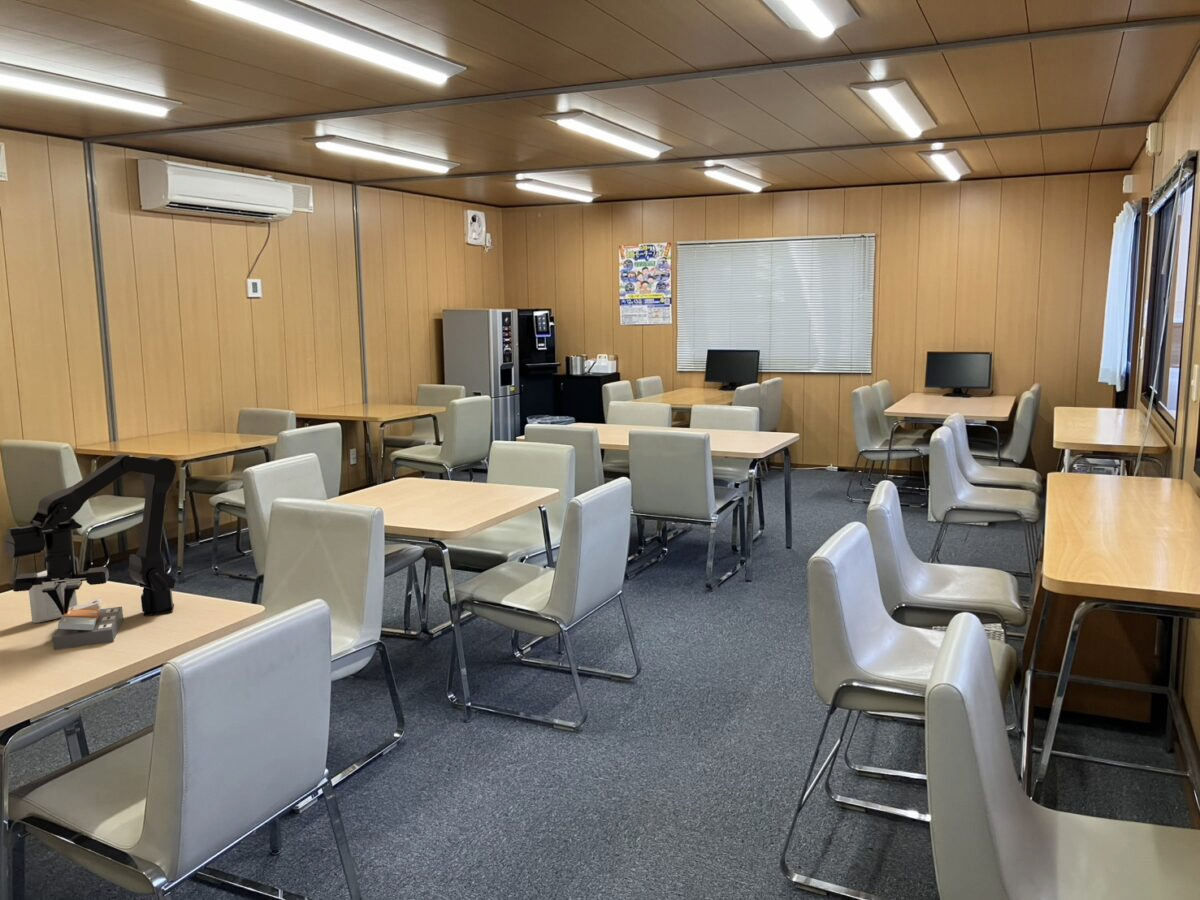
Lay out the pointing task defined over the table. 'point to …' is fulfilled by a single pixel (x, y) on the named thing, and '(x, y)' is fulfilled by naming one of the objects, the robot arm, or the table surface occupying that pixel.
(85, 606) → the ivory rocker
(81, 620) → the grey-blue rocker
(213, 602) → the table surface
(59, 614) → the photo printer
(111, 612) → the power strip
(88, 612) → the orange box with knob
